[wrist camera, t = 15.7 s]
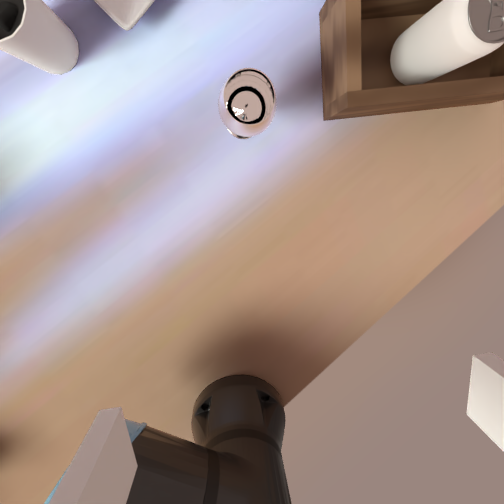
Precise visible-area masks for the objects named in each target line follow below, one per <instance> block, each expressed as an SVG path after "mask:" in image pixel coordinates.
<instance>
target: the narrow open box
mask: <svg viewBox="0 0 504 504" xmlns="http://www.w3.org/2000/svg"><path fill="white" fill-rule="evenodd" d="M441 1H443V0H326V2H325V4H324V5H323V7H322V9H321V11H320V12H319V16H320V41H321V67H322V92H323V117H324V121H325V120H335V119H344V118H353V117H363V116H372V115H382V114H391V113H401V112H410V111H420V110H429V109H439V108H448V107H458V106H467V105H477V104H486V103H493V102H497V101H501V100H504V43H503V44H502V45H501V46H500V47H499V48H498V49H496V50H494V51H493V52H491V53H489V54H487V55H485V56H483V57H481V58H479V59H476V60H474V61H472V62H470V63H468V64H466V65H463V66H461V67H459V68H457V69H455V70H453V71H450V72H448V73H446V74H444V75H442V76H439V77H437V78H435V79H433V80H430V81H428V82H426V83H424V84H417V85H404V84H402V83H401V82H399V81H398V80H397V79H396V77H395V76H394V74H393V72H392V69H391V64H390V56H391V51H392V48H393V45H394V43H395V41H396V40H397V38H398V37H399V36H400V35H401V34H402V33H403V32H404V31H405V30H407V29H408V28H409V27H410V26H411V25H413V24H414V23H415V22H416V21H418V20H419V19H420V18H421V17H423V16H424V15H425V14H426V13H428V12H429V11H430V10H431V9H433V8H434V7H435V6H436V5H438V4H439V3H440V2H441Z"/></svg>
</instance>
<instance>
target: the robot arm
mask: <svg viewBox="0 0 504 504" xmlns="http://www.w3.org/2000/svg"><path fill="white" fill-rule="evenodd" d="M467 415H468V416H469V417H470V418H471V419H472V420H473V421H474V422H475V423H476V424H477V425H478V426H479V427H480V428H481V429H482V430H483V431H484V432H485V433H486V434H487V435H488V436H489V437H490V438H491V439H492V440H493V441H494V442H495V443H496V445H498V447H499V448H501V449H502V451H504V360H503V359H501V358H500V357H498V356H497V355H496V354H494V353H493V352H491V353H483V354H477V355H473V359H472V368H471V377H470V387H469V396H468V406H467ZM146 425H147V424H146V423H141V424H140V423H137V422H133V421H130V420H127V419H125V418H124V415H123V411H122V408H121V407H117V408H111V409H104V410H99V412H98V414H97V416H96V418H95V419H94V421H93V423H92V425H91V427H90V429H89V430H88V432H87V434H86V436H85V438H84V440H83V441H82V443H81V445H80V447H79V449H78V451H77V453H76V454H75V456H74V458H73V460H72V462H71V464H70V465H69V467H68V468H67V469H66V471H65V472H64V474H63V475H62V477H61V478H60V480H59V482H58V483H57V485H56V486H55V488H54V489H53V491H52V492H51V494H50V495H49V497H48V498H47V500H46V501H45V503H44V504H291V499H290V494H289V489H288V484H287V480H286V474H285V470H284V465H283V460H282V455H281V447H282V441H283V435H284V428H285V413H284V408H283V404H282V400H281V398H280V396H279V394H278V392H277V391H276V390H275V389H274V388H273V387H272V386H271V385H270V384H269V383H267V382H265V381H263V380H261V379H259V378H256V377H252V376H246V375H236V376H229V377H225V378H222V379H220V380H217V381H215V382H214V383H212V384H210V385H209V386H208V387H207V388H205V389H204V390H203V391H202V393H201V394H200V395H199V397H198V398H197V400H196V402H195V405H194V409H193V415H192V433H193V437H194V441H195V443H192V442H190V441H187V440H184V439H181V438H179V437H176V436H173V435H171V434H168V433H165V432H162V431H160V430H157V429H154V428H151V427H149V426H146Z"/></svg>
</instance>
